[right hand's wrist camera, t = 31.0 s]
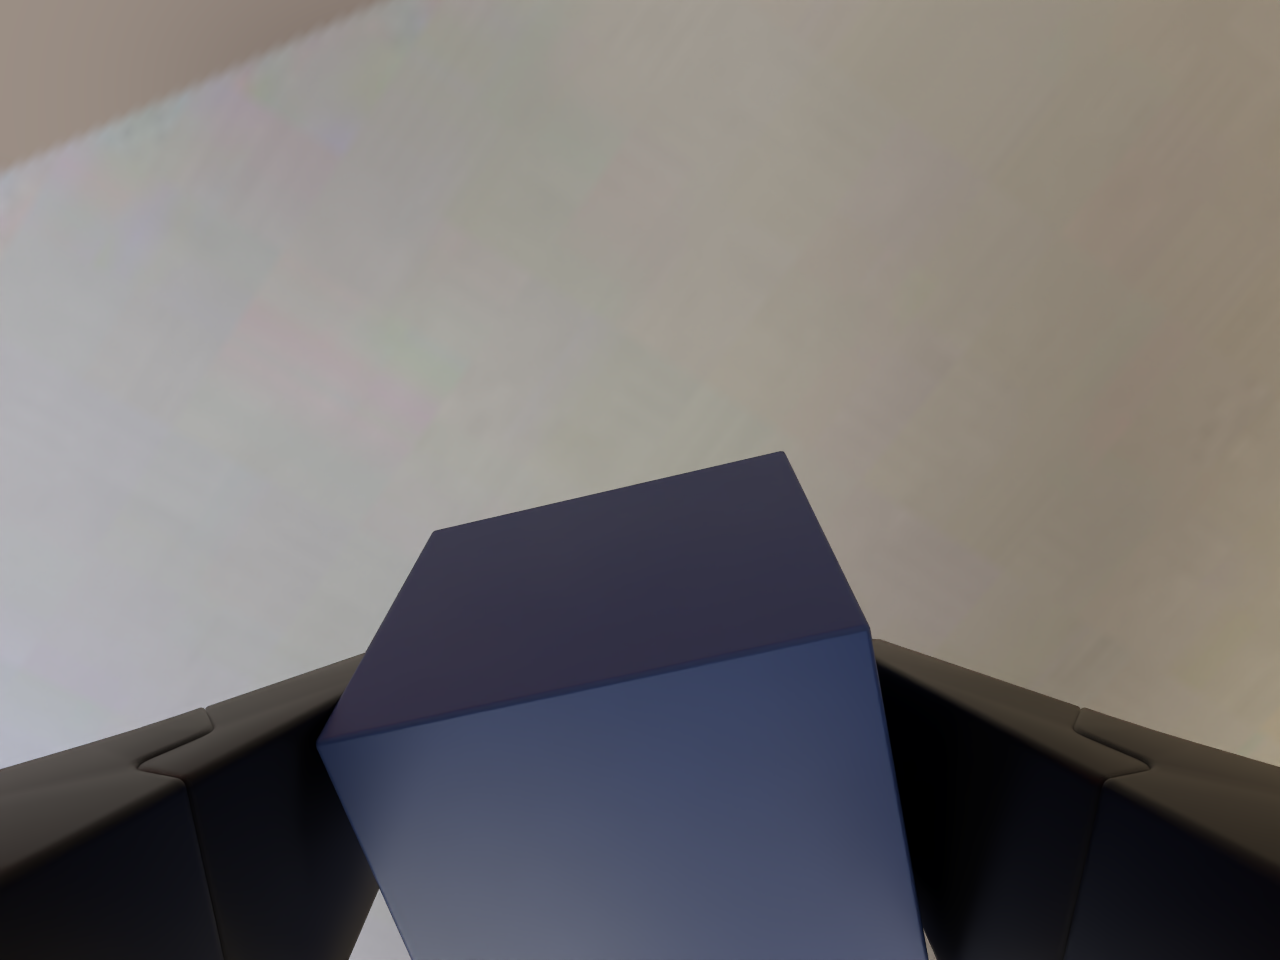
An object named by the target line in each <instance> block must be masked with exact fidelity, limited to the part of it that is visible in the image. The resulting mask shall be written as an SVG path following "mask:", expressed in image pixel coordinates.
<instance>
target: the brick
mask: <svg viewBox="0 0 1280 960" xmlns="http://www.w3.org/2000/svg"><path fill="white" fill-rule="evenodd" d="M316 748H317V750H318V752H319V754H320V757H321V759H322V761H323V763H324V766H325V768H326V770H327V772H328V774H329V777H330V779H331V781H332V783H333V786H334V788H335V790H336V792H337V795H338V797H339V799H340V801H341V803H342V806H343V808H344V810H345V812H346V815H347V817H348V819H349V821H350V823H351V826H352V828H353V830H354V832H355V835H356V837H357V839H358V841H359V844H360V846H361V848H362V850H363V852H364V855H365V857H366V859H367V861H368V864H369V866H370V868H371V870H372V873H373V875H374V877H375V879H376V881H377V884H378V886H379V888H380V890H381V893H382V895H383V897H384V899H385V901H386V904H387V906H388V908H389V910H390V913H391V915H392V917H393V919H394V922H395V924H396V926H397V928H398V930H399V933H400V935H401V937H402V939H403V942H404V944H405V946H406V948H407V950H408V953H409V955H410V957H411V959H412V960H929V959H928V953H927V948H926V942H925V936H924V931H923V925H922V919H921V914H920V908H919V902H918V897H917V891H916V885H915V880H914V874H913V868H912V863H911V857H910V851H909V846H908V840H907V834H906V829H905V823H904V817H903V812H902V806H901V800H900V795H899V789H898V783H897V778H896V772H895V767H894V761H893V755H892V750H891V744H890V738H889V733H888V727H887V721H886V716H885V710H884V704H883V699H882V693H881V687H880V682H879V676H878V670H877V665H876V659H875V653H874V648H873V642H872V636H871V631H870V627H869V625H868V623H867V621H866V618H865V616H864V614H863V612H862V610H861V608H860V606H859V604H858V602H857V600H856V598H855V596H854V594H853V592H852V590H851V588H850V586H849V584H848V582H847V579H846V577H845V575H844V573H843V571H842V569H841V567H840V565H839V563H838V561H837V559H836V557H835V555H834V553H833V551H832V549H831V547H830V545H829V543H828V541H827V538H826V536H825V534H824V532H823V530H822V528H821V526H820V524H819V522H818V520H817V518H816V516H815V514H814V512H813V510H812V508H811V506H810V504H809V502H808V499H807V497H806V495H805V493H804V491H803V489H802V487H801V485H800V483H799V481H798V479H797V477H796V475H795V473H794V471H793V469H792V467H791V465H790V463H789V461H788V458H787V456H786V454H785V453H784V452H783V451H779V452H775V453H771V454H766V455H762V456H758V457H753V458H749V459H745V460H740V461H736V462H732V463H727V464H723V465H719V466H714V467H710V468H706V469H701V470H697V471H693V472H688V473H684V474H679V475H675V476H671V477H666V478H662V479H658V480H653V481H649V482H645V483H640V484H636V485H632V486H627V487H623V488H619V489H614V490H610V491H606V492H601V493H597V494H593V495H588V496H584V497H580V498H575V499H571V500H567V501H562V502H558V503H553V504H549V505H545V506H540V507H536V508H532V509H527V510H523V511H519V512H514V513H510V514H506V515H501V516H497V517H493V518H488V519H484V520H480V521H475V522H471V523H467V524H462V525H458V526H454V527H449V528H445V529H441V530H436V531H434V532H433V533H432V534H431V536H430V538H429V540H428V542H427V543H426V545H425V547H424V549H423V551H422V552H421V554H420V556H419V558H418V560H417V561H416V563H415V565H414V567H413V568H412V570H411V572H410V574H409V576H408V577H407V579H406V581H405V583H404V585H403V586H402V588H401V590H400V592H399V593H398V595H397V597H396V599H395V601H394V602H393V604H392V606H391V608H390V610H389V611H388V613H387V615H386V617H385V619H384V620H383V622H382V624H381V626H380V627H379V629H378V631H377V633H376V635H375V636H374V638H373V640H372V642H371V644H370V645H369V647H368V649H367V651H366V652H365V654H364V656H363V658H362V660H361V661H360V663H359V665H358V667H357V669H356V670H355V672H354V674H353V676H352V678H351V679H350V681H349V683H348V685H347V686H346V688H345V690H344V692H343V694H342V695H341V697H340V699H339V701H338V703H337V704H336V706H335V708H334V710H333V712H332V713H331V715H330V717H329V719H328V720H327V722H326V724H325V726H324V728H323V729H322V731H321V733H320V735H319V737H318V738H317V740H316Z"/></svg>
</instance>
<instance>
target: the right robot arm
mask: <svg viewBox="0 0 1280 960" xmlns="http://www.w3.org/2000/svg"><path fill="white" fill-rule="evenodd" d="M872 642H873V648H874V653H875V659H876V665H877V670H878V676H879V682H880V687H881V693H882V699H883V704H884V710H885V716H886V721H887V727H888V733H889V738H890V744H891V750H892V755H893V761H894V767H895V772H896V778H897V783H898V789H899V795H900V800H901V806H902V812H903V817H904V823H905V829H906V834H907V840H908V846H909V851H910V857H911V863H912V868H913V874H914V880H915V885H916V891H917V897H918V902H919V908H920V914H921V919H922V925H923V929H924V931H925V933H926V936H927V938H928V940H929V943H930V945H931V947H932V949H933V952H934V954H935V956H936V959H937V960H1280V767H1278V766H1274V765H1271V764H1267V763H1264V762H1260V761H1257V760H1253V759H1250V758H1247V757H1243V756H1240V755H1236V754H1233V753H1229V752H1226V751H1222V750H1219V749H1215V748H1212V747H1209V746H1205V745H1202V744H1198V743H1195V742H1192V741H1188V740H1185V739H1182V738H1178V737H1175V736H1172V735H1169V734H1165V733H1162V732H1159V731H1155V730H1152V729H1149V728H1146V727H1143V726H1140V725H1136V724H1133V723H1130V722H1127V721H1124V720H1121V719H1118V718H1115V717H1112V716H1109V715H1106V714H1103V713H1100V712H1097V711H1094V710H1091V709H1088V708H1082V709H1080V708H1079V707H1078V706H1075V705H1072V704H1070V703H1067V702H1064V701H1061V700H1058V699H1055V698H1052V697H1049V696H1046V695H1043V694H1040V693H1037V692H1034V691H1031V690H1028V689H1025V688H1022V687H1019V686H1016V685H1013V684H1010V683H1007V682H1004V681H1001V680H999V679H996V678H993V677H990V676H987V675H984V674H981V673H978V672H975V671H972V670H969V669H966V668H963V667H960V666H957V665H954V664H951V663H948V662H945V661H942V660H939V659H936V658H933V657H931V656H928V655H925V654H922V653H919V652H916V651H913V650H910V649H907V648H904V647H901V646H898V645H895V644H892V643H889V642H886V641H883V640H880V639H872ZM364 654H365V653H363V654H360V655H357V656H354V657H351V658H348V659H345V660H342V661H340V662H337V663H334V664H331V665H328V666H325V667H322V668H319V669H316V670H313V671H310V672H307V673H304V674H301V675H299V676H296V677H293V678H290V679H287V680H284V681H281V682H278V683H275V684H272V685H269V686H266V687H263V688H260V689H257V690H255V691H252V692H249V693H246V694H243V695H240V696H237V697H234V698H231V699H228V700H225V701H222V702H219V703H216V704H214V705H211V706H208V707H207V708H206V709H204V708H198V709H195V710H192V711H190V712H187V713H184V714H181V715H178V716H175V717H172V718H169V719H165V720H162V721H159V722H156V723H153V724H150V725H147V726H144V727H141V728H138V729H135V730H131V731H128V732H125V733H122V734H118V735H115V736H112V737H108V738H105V739H102V740H99V741H95V742H92V743H89V744H85V745H82V746H79V747H75V748H72V749H68V750H65V751H61V752H58V753H55V754H51V755H48V756H44V757H41V758H37V759H34V760H31V761H27V762H24V763H20V764H17V765H13V766H10V767H7V768H3V769H0V960H349V957H350V955H351V953H352V950H353V948H354V946H355V943H356V941H357V939H358V936H359V934H360V932H361V929H362V927H363V925H364V922H365V920H366V918H367V915H368V913H369V911H370V908H371V906H372V904H373V901H374V899H375V897H376V894H377V892H378V890H379V886H378V884H377V881H376V879H375V877H374V875H373V873H372V870H371V868H370V866H369V864H368V861H367V859H366V857H365V855H364V852H363V850H362V848H361V846H360V844H359V841H358V839H357V837H356V835H355V832H354V830H353V828H352V826H351V823H350V821H349V819H348V817H347V815H346V812H345V810H344V808H343V806H342V803H341V801H340V799H339V797H338V795H337V792H336V790H335V788H334V786H333V783H332V781H331V779H330V777H329V774H328V772H327V770H326V768H325V766H324V763H323V761H322V759H321V757H320V754H319V752H318V750H317V748H316V740H317V738H318V737H319V735H320V733H321V731H322V729H323V728H324V726H325V724H326V722H327V720H328V719H329V717H330V715H331V713H332V712H333V710H334V708H335V706H336V704H337V703H338V701H339V699H340V697H341V695H342V694H343V692H344V690H345V688H346V686H347V685H348V683H349V681H350V679H351V678H352V676H353V674H354V672H355V670H356V669H357V667H358V665H359V663H360V661H361V660H362V658H363V656H364Z"/></svg>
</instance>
